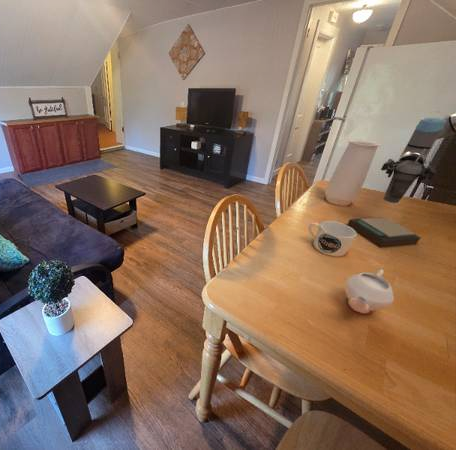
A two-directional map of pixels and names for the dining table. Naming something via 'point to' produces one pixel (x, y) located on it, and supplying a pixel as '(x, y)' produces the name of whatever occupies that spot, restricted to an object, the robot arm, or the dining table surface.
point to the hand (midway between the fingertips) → (405, 176)
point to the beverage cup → (403, 179)
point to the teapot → (368, 292)
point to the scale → (383, 232)
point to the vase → (351, 172)
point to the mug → (333, 237)
